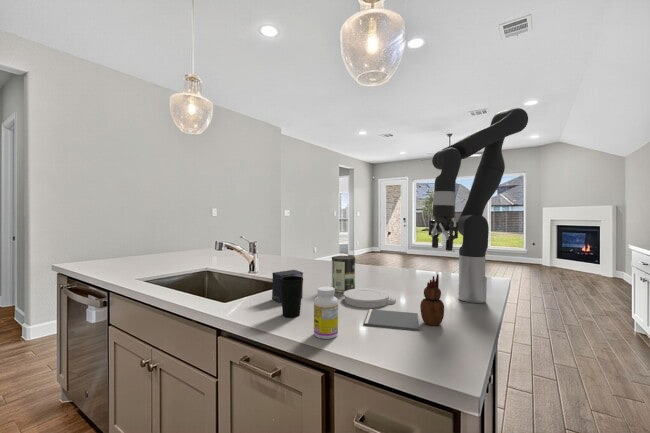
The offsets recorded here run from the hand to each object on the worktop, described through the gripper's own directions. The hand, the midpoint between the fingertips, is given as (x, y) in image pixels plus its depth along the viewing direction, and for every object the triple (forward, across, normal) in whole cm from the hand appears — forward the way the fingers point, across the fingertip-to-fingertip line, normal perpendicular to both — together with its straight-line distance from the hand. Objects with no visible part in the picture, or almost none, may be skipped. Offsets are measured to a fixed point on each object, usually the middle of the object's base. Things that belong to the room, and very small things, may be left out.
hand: (441, 249), depth 112 cm
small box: (+23, +20, +53) cm, 61 cm away
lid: (+22, +11, +22) cm, 33 cm away
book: (+22, -10, +23) cm, 33 cm away
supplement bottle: (+23, -18, +46) cm, 54 cm away
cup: (+23, +1, +54) cm, 58 cm away
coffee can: (+22, +29, +28) cm, 46 cm away
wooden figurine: (+21, -16, +13) cm, 29 cm away
